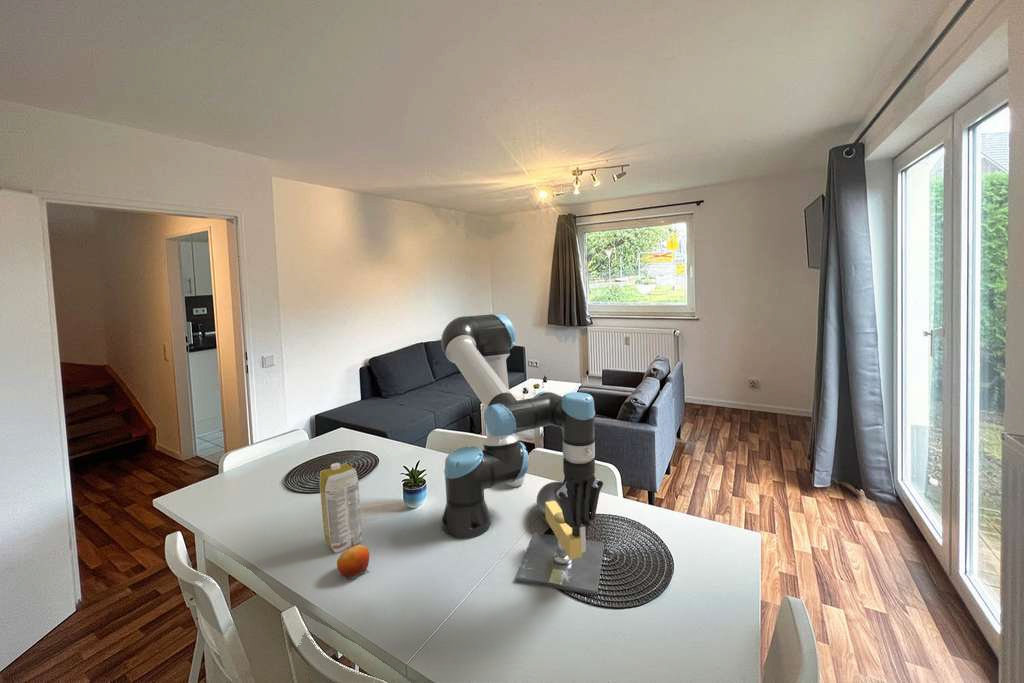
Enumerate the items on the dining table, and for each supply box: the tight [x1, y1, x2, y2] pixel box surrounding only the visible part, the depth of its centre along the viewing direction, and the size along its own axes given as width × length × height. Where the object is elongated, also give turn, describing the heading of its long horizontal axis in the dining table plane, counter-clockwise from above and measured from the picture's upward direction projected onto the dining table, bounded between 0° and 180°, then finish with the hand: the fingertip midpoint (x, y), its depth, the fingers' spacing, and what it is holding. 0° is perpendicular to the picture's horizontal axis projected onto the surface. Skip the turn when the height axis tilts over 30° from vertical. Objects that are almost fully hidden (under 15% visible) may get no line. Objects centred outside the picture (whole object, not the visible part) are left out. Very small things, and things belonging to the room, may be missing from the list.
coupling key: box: [545, 501, 582, 560], centre depth 113 cm, size 19×4×6 cm, turn 13°
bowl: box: [536, 481, 571, 527], centre depth 138 cm, size 12×22×6 cm, turn 169°
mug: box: [505, 474, 526, 488], centre depth 160 cm, size 12×8×8 cm
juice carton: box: [319, 462, 363, 554], centre depth 124 cm, size 9×8×24 cm
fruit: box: [336, 544, 370, 580], centre depth 112 cm, size 8×8×8 cm
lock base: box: [515, 532, 605, 597], centre depth 114 cm, size 20×20×7 cm
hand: (580, 549), depth 106 cm, fingers closed
